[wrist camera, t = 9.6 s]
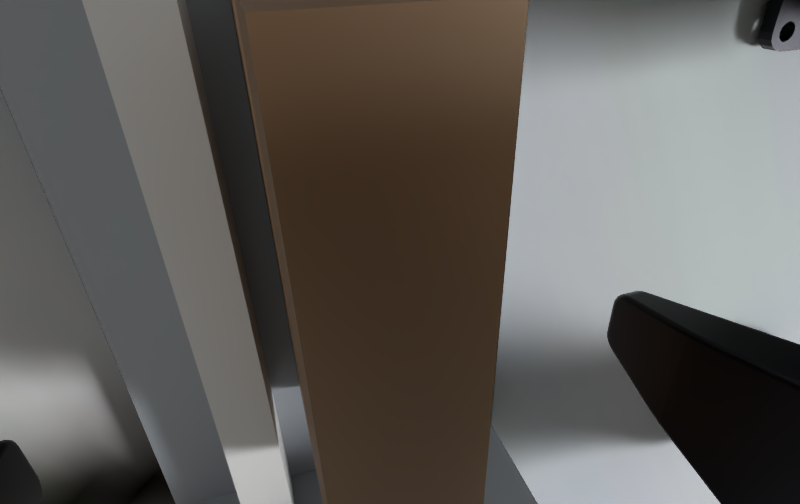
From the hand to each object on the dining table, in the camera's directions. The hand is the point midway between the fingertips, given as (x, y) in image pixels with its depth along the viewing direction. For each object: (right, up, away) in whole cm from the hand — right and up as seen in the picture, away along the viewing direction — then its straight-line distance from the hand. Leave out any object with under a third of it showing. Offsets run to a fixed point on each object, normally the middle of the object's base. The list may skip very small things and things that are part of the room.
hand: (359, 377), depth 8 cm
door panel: (-1, +3, +4) cm, 5 cm away
